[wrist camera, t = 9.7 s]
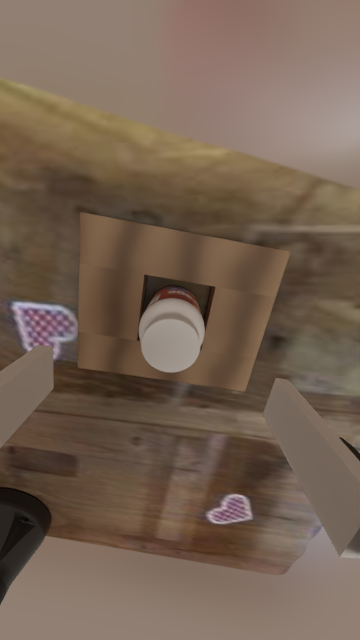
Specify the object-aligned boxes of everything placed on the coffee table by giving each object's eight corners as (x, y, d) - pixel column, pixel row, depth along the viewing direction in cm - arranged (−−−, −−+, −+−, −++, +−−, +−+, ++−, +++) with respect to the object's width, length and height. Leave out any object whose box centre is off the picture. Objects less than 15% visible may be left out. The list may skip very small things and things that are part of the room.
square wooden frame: (85, 357, 29) (77, 367, 27) (90, 215, 23) (80, 212, 21) (239, 380, 30) (244, 391, 28) (279, 251, 25) (290, 251, 22)
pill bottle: (208, 305, 27) (227, 342, 16) (177, 339, 28) (177, 394, 18) (169, 274, 25) (163, 292, 15) (140, 312, 27) (115, 352, 16)
